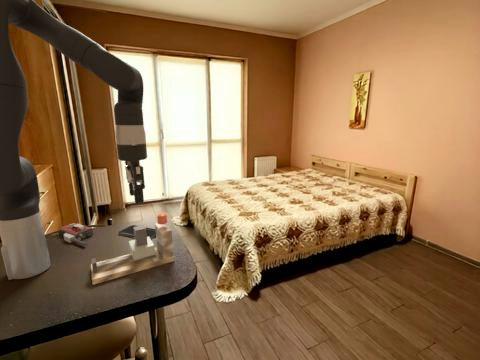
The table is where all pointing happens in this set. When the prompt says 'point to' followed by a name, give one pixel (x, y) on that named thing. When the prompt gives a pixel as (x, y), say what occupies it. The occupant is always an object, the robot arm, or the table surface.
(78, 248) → the table surface
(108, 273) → the rail base
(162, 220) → the button
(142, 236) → the block
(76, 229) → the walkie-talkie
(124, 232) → the phone
